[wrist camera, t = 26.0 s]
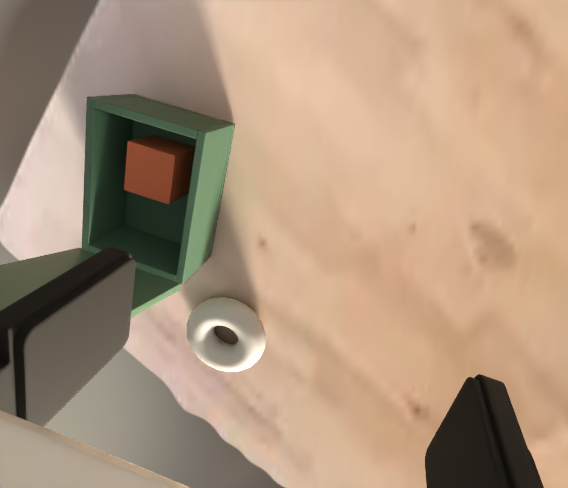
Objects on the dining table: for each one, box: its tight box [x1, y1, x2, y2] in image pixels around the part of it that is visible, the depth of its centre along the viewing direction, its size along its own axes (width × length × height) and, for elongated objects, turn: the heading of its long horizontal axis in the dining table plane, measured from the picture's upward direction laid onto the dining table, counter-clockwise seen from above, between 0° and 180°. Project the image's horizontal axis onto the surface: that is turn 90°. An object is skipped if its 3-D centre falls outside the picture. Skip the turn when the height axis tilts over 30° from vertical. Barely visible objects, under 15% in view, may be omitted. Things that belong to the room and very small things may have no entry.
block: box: [124, 135, 195, 204], centre depth 42 cm, size 5×5×5 cm
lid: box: [0, 248, 181, 318], centre depth 35 cm, size 16×12×6 cm
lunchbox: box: [82, 94, 235, 284], centre depth 43 cm, size 16×12×7 cm
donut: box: [187, 297, 266, 372], centre depth 50 cm, size 10×4×10 cm
